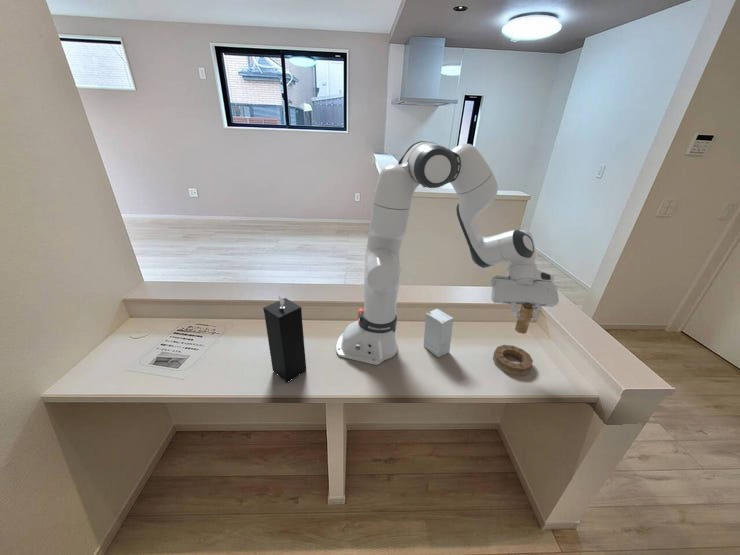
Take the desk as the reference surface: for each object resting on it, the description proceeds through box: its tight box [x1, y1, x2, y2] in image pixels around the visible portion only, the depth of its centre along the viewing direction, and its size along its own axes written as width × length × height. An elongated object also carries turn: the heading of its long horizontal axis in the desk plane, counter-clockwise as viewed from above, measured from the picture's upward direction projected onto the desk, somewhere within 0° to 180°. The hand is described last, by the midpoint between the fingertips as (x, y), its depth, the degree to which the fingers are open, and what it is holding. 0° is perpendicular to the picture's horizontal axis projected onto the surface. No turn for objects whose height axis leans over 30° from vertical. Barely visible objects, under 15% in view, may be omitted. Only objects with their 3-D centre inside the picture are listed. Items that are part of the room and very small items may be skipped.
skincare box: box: [423, 308, 454, 358], centre depth 111 cm, size 8×6×15 cm
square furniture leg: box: [263, 295, 307, 383], centre depth 96 cm, size 8×8×28 cm
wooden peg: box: [514, 303, 534, 335], centre depth 100 cm, size 4×4×10 cm
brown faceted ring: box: [492, 344, 534, 376], centre depth 108 cm, size 12×12×3 cm
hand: (525, 317), depth 100 cm, fingers closed on wooden peg, 4 cm apart
